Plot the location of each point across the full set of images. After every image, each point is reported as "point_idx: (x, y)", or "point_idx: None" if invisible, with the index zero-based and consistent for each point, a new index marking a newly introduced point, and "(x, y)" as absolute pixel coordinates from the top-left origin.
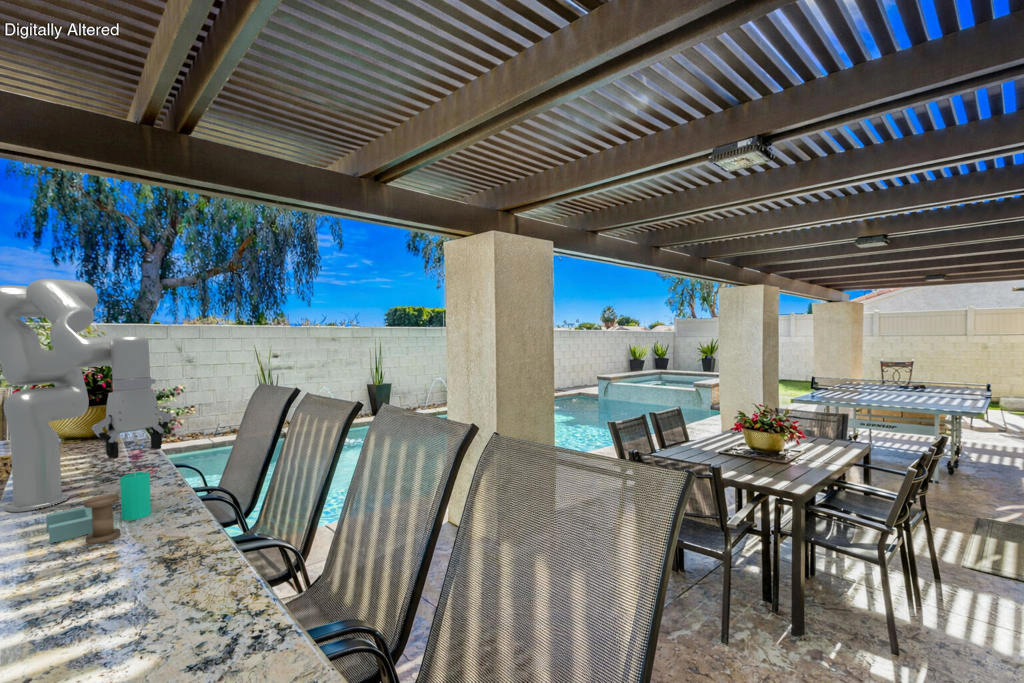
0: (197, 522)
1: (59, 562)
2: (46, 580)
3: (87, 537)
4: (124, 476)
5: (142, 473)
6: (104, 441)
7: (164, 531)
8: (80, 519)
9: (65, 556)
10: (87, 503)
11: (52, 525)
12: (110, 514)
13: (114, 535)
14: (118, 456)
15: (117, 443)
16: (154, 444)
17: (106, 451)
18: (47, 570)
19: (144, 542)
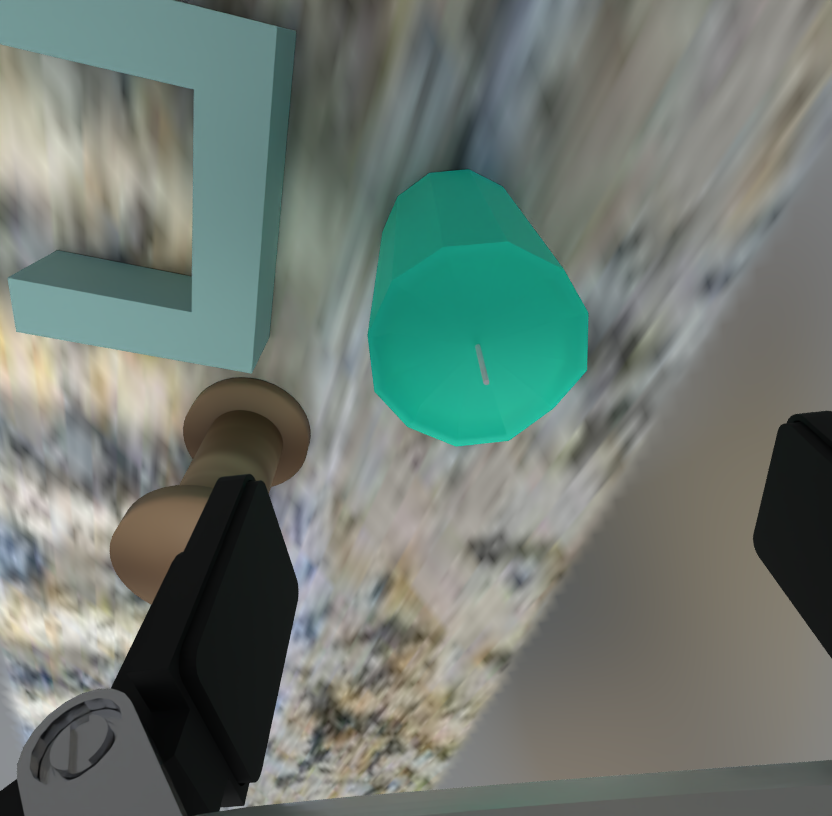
0: (534, 556)
1: (102, 527)
2: (74, 615)
3: (189, 430)
4: (423, 275)
5: (562, 300)
6: (68, 727)
7: (422, 544)
8: (155, 326)
9: (119, 493)
10: (124, 582)
11: (26, 299)
12: None
13: (276, 482)
14: (297, 597)
15: (255, 770)
16: (801, 526)
17: (165, 583)
18: (72, 557)
19: (338, 579)
